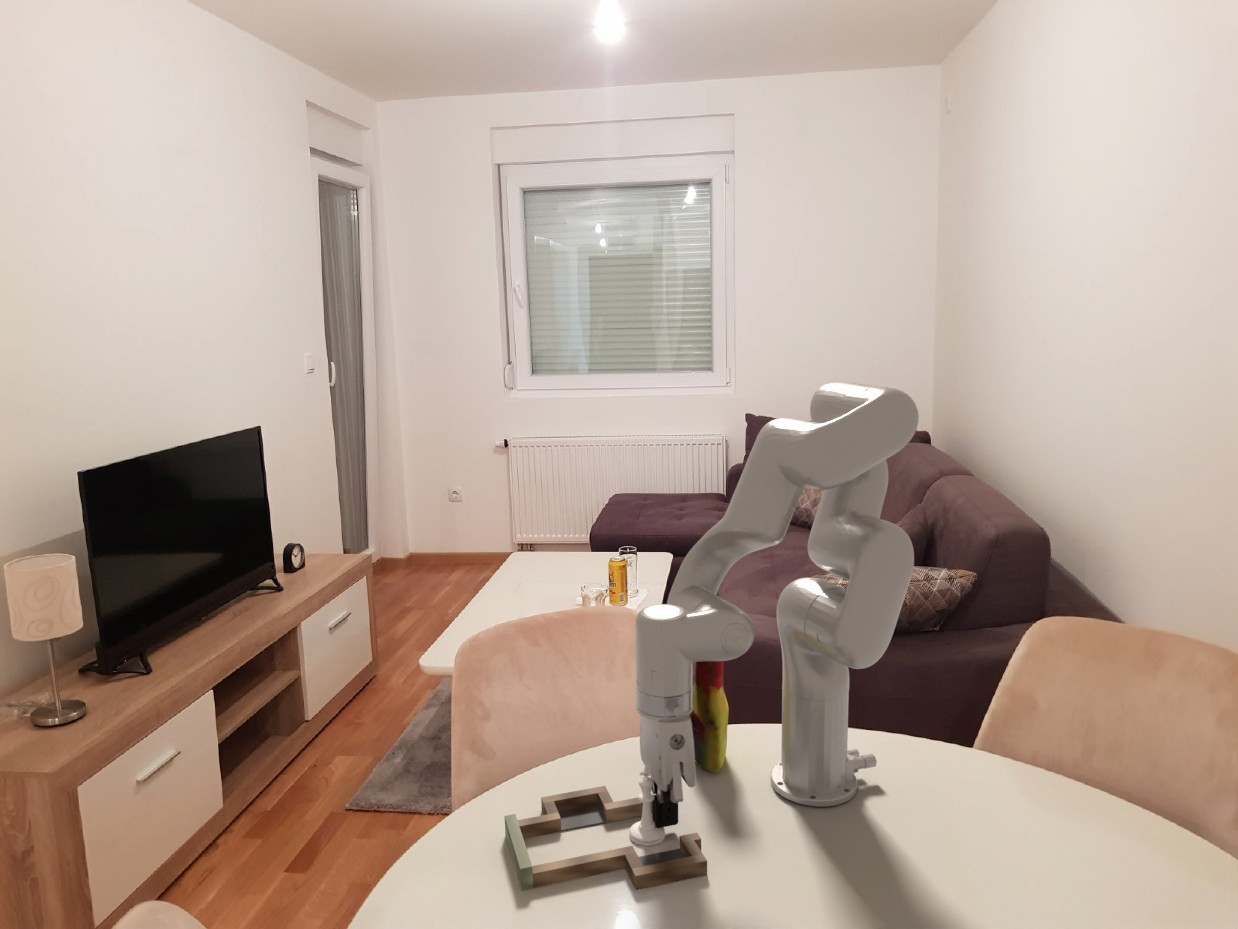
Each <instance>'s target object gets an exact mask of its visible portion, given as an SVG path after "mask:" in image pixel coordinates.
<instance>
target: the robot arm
mask: <svg viewBox="0 0 1238 929" xmlns="http://www.w3.org/2000/svg"><path fill="white" fill-rule="evenodd" d="M809 412H810V413H809V414H810V415H809V416H810V420H811V421H810V420H804V419H798V418H791V417H790V418H789V417H783V418H782V417H781V418H776V419H772V420H770V421H768V422H767V423H766V424H764V426H762V428H761V429H760V431H759V432H758V433H757V436H756V439H755V441H754V443H753V446H752V448H751V451H750V453H749V456H748V457H747V460H746V462H745V464H744V467H743V469H742V472H741V475H740V477H739V479H738V483H737V485H736V487H735V489H734V492H733V494H732V497H731V499H730V500H729V501H730V502H729V504H728V507H727V509H726V511H725V514H724V515H723V517H722V518H721V519H720V520H719V521H718V522H717V523H716V524H715V525H713V526H712V527H711V528H710V529H708V530H707V531H706V533H704V535H703V536H702V537H701V538H700V539H699V540H698V541H697V542H695V544H694V545H693V546H692V548H690V549H689V551H688V552H687V554H686V556H685V557H684V559H683V560H682V562H681V564H680V567H679V569H678V571H677V574H676V577H675V578H674V581H673V583H672V584H671V588H670V591H669V593H668V597H667V601H666V603H661V604H659V603H658V604H651V605H648V606H646V607H644V608H642V609H641V610H640V611H638V613H637V615H636V618H635V627H634V628H635V631H634V632H635V681H636V682H635V684H636V685H635V690H636V692H635V693H636V694H635V695H636V697H635V698H636V699H635V700H636V701H635V703H636V711H637V713H638V714H639V715H640V718H639V721H640V722H639V750H640V751H639V752H640V758H641V761H642V763H643V765H644V768H645V767H648V771H650V772H651V774H652V776H650V778H651V779H653V781H654V784H653V786H652V790H651V793H652V794H653V795H654V794H656V795H654V800H653V801H652V818H653V821H654V822H655V825H656V827H657V828H662V827H664V828H666V827H672V826H677V825H678V823H679V803H682V802H684V795H683V782H682V780H684V782H685V784H686V785H687V786H688V788H693V787H695V785H696V780H697V778H696V776H697V775H696V773H697V772H696V761H695V752H694V739H693V730H692V723H691V718H690V715H689V714H690V713H691V712H692V710H693V685H694V684H693V683H694V680H693V678H694V677H693V675H694V673H693V670H694V667H693V666H694V665H693V664H694V663H696V662H700V661H723V662H726V661H731V660H736V659H738V658H739V657H741V656H743V655H744V654H746V652H748V651H749V649H750V648H751V646H752V645H753V643H754V640H755V634H756V632H755V626H754V623H753V621H752V619H751V618H750V616H749V615H748V614H747V613H746V611H744V610H742V609H741V608H739V607H738V606H737V605H735V604H733V603H731V602H729V601H728V600H725V599H724V598H722V597H720V596H719V595H718V591H719V589H720V587H721V584H722V582H723V581H724V578H725V576H726V575H727V573H728V572H729V570H730V569H731V568H732V566H733V565H735V564H736V563H737V562H738V561H739V560H740V559H743V557H745V556H748V555H750V554H751V553H754V552H757V551H760V550H763V549H766V548H771V547H773V546H777V545H778V544H780V543H781V542H782V541H783V540H784V538H785V537H786V533H787V531H788V529H789V526H790V524H791V521H792V518H793V516H794V514H795V511H796V508H797V507H798V505H799V504H798V503H799V501H800V499H801V497H802V494H803V492H804V490H805V487H807V488H810V489H814V490H819V491H822V495H821V498H820V500H819V505H818V507H817V510H816V514H815V517H814V518H813V523H812V526H811V528H810V529H811V530H810V532H809V536H808V540H807V553H808V554H807V555H808V557H809V559H810V560H811V562H813V564H814V565H816V566H817V567H818V568H820V569H821V570H824V571H826V572H828V573H830V574H832V575H835V576H837V577H839V578H841V579H844V580H847V581H848V582H847V586H846V588H844V587H842V586H839V585H836V584H835V583H831V582H829V581H827V580H824V579H820V578H816V577H811V576H810V577H800V578H797V579H795V580H793V581H791V582H789V584H788V585H785V587H784V589H783V590H782V592H781V593H780V595H779V598H778V600H777V604H776V623H777V629H778V636H779V642H780V647H781V658H782V659H781V660H782V683H781V684H782V685H781V690H782V692H781V695H782V697H781V761H779V762H778V763H777V764H775V765H774V767H772V769H771V771H770V772H771V773H770V784H771V786H772V788H773V789H774V791H775V792H776V793H778V794H779V796H781V797H782V798H784V799H787V800H788V801H790V802H793V803H796V804H800V805H803V806H808V807H818V808H819V807H820V808H821V807H824V808H826V807H834V806H839V805H841V804H844V803H847V802H848V801H850V800H852V798H853V797H854V796H855V795H856V794H857V790H858V779H857V777H856V774H855V773H858V772H859V771H860V770H861V769H862V770H863V769H865V770H866V769H870V768H871V769H872V768H875V767H877V763H878V762H877V759H876V756H875V755H874V753H868V754H862V755H860V753H859V750H858V749H857V748H855V749H854V748H853V749H849V750H848V739H849V738H848V737H849V736H848V735H849V734H848V733H849V731H848V730H849V693H850V692H849V691H850V671H849V670H850V669H849V668H851V669H856V670H860V669H861V670H862V669H866V668H869V667H872V666H873V665H874V664H876V663H877V662H878V661H879V660H880V659H881V658H882V657H883V655H884V654H885V652H886V651H887V649H888V647H889V644H890V643H891V640H892V637H893V635H894V632H895V629H896V626H897V623H898V620H899V616H900V613H901V610H902V608H903V604H904V602H905V601H904V600H905V598H906V595H907V591H908V588H909V585H910V583H911V579H912V576H913V571H914V566H915V551H914V545H913V543H912V540H911V538H910V536H909V534H908V533H907V532H906V531H905V530H904V529H903V528H902V527H901V526H899V525H898V524H896V523H894V522H891V521H889V520H885V519H881V513H882V510H883V506H884V502H885V498H886V495H887V491H888V486H889V467H888V466H889V465H888V462H887V459H889V458H890V457H892V456H894V455H896V454H897V453H898V452H900V451H901V450H902V449H904V448H905V447H906V446H907V445H908V444H909V443H910V442H911V440H912V438H913V437H914V435H915V433H916V432H917V428H918V425H919V418H920V417H919V416H920V415H919V410H918V407H917V405H916V403H915V401H914V400H913V398H912V397H911V396H909V394H907V393H906V392H904V391H902V390H899V389H897V388H894V387H893V388H892V387H888V386H887V387H886V386H880V385H879V386H878V385H877V386H876V385H868V384H862V383H856V382H854V383H853V382H846V381H845V382H843V381H841V382H830V383H827V384H823V385H821V386H820V387H819V388H818V389H817V390H816V391H814V393H813V395H812V398H811V400H810V406H809Z"/></svg>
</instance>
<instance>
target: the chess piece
mask: <svg viewBox="0 0 1238 929" xmlns="http://www.w3.org/2000/svg"><path fill="white" fill-rule="evenodd" d="M639 776H644V777H641V778H639V780H638V785H639V786H640V789H641V793H639V795H638V797H639V800H640V801H641V802H643V809H642V816H641V819H640V821H636V822H635V823H633V824H631V827H630V829H629V834H628V836H629V839H630V840H631V841H632V843H633V842H634V844H637V845H639V846H643V847H644V846H646V847H647V846H648V847H649V846H655V845H658V844H660V843H661V842H663V841H664V840H665V838H666V832H665V827H662V828H657V827H656V825H655V822H654V821H653V818H652V811H651V804H650V802H652V801H653V800H654V794H653V793H652V786H653V784H654V781H653V779H651V776H652V774H651V772H650V771H648V767H645V766H644V768H643V770H639Z"/></svg>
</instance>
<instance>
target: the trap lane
mask: <svg viewBox="0 0 1238 929" xmlns="http://www.w3.org/2000/svg"><path fill="white" fill-rule="evenodd" d="M653 795H656V794H653ZM540 801H541V812H542V815H538V816H533V817H526V818H522V819H518V818H517V815H516V814H515V813H513V814H507V815H504V828H505V829H504V832H505V839H506V842H507V845H508V849H509V853H510V857H511V860H512V862H513V866H514V867H513V868H514V870H515V873H516V876H517V879H518V880H517V881H518V883H519V886H520V891H526V890H531V889H536V888H540V887H545V886H550V885H554V884H559V883H564V882H569V881H573V880H578V879H582V878H588V877H592V876H596V875H601V874H605V873H606V874H607V873H610V872H611V873H612V872H616V871H620V870H625V871H626V873H627V876H628V878H629V879H630V882H631V883H632V884H631V885H632V886H633V888H634V889H635V891H640V890H645V889H648V888H654V887H659V886H662V885H668V884H672V883H676V882H680V881H681V882H682V881H685V880H691V879H695V878H700V877H705V876H707V875H708V860H707V858H706V857H705V855H704V854H703V852H702V838H701V836H700V835H699V833H698V832H693V833H688V834H683V835H679V837H678V840H679V841H678V842H679V843H678V844H679V847H678V848H675V849H670V850H665V851H659V852H655V853H650V854H647V855H640V856H639V855H638V854H637V851H636V850H635V848H634V846H633V845H630V846H629V845H628V846H624V847H619V848H614V849H609V850H604V851H599V852H595V853H591V854H586V855H585V854H584V855H580V856H575V857H570V858H565V859H561V860H556V861H550V862H545V863H542V864H541V863H540V864H536V865H535V864H534V865H532V861H531V859H530V855H529V851H528V848H527V845H526V842H525V840H526V839H529V838H535V837H540V836H546V835H551V834H555V833H562V832H565V831H571V830H576V829H581V828H582V829H583V828H587V827H592V826H597V825H602V824H608V823H612V822H619V821H623V820H627V819H631V818H633V819H634V818H638V817H642V809H643V802H641V801H640V800H639V796H638V797H633V798H628V799H623V800H622V799H621V800H618V801H617V800H616V801H614V800H613V798H612V796H611V795H610V792H609V791H608V789H607V787H606V785H602V786H597V787H592V788H585V789H579V790H575V791H573V790H572V791H569V792H564V793H558V794H552V795H547V796H542V797H541V798H540ZM650 804H651V811H652V802H650ZM524 839H525V840H524Z"/></svg>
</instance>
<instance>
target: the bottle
mask: <svg viewBox="0 0 1238 929" xmlns="http://www.w3.org/2000/svg"><path fill="white" fill-rule="evenodd" d="M694 668H695V670H694V672H695V673H694V674H695V677H694V684H693V710H692V712H691V713H690V714H689V715H690V718H691V723H692V730H693V739H694V752H695V763H697V765H698V766H700V767H701V768H702V769H703V770H706V771H708V772H719V771H721V769H722V768H723V765H724V763H725V759H726V752H727V744H728V742H727V741H728V726H729V724H728V722H729V704H728V700H727V696H726V693H725V691H724V690H725V689H724V661H700V662H695V667H694Z"/></svg>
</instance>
